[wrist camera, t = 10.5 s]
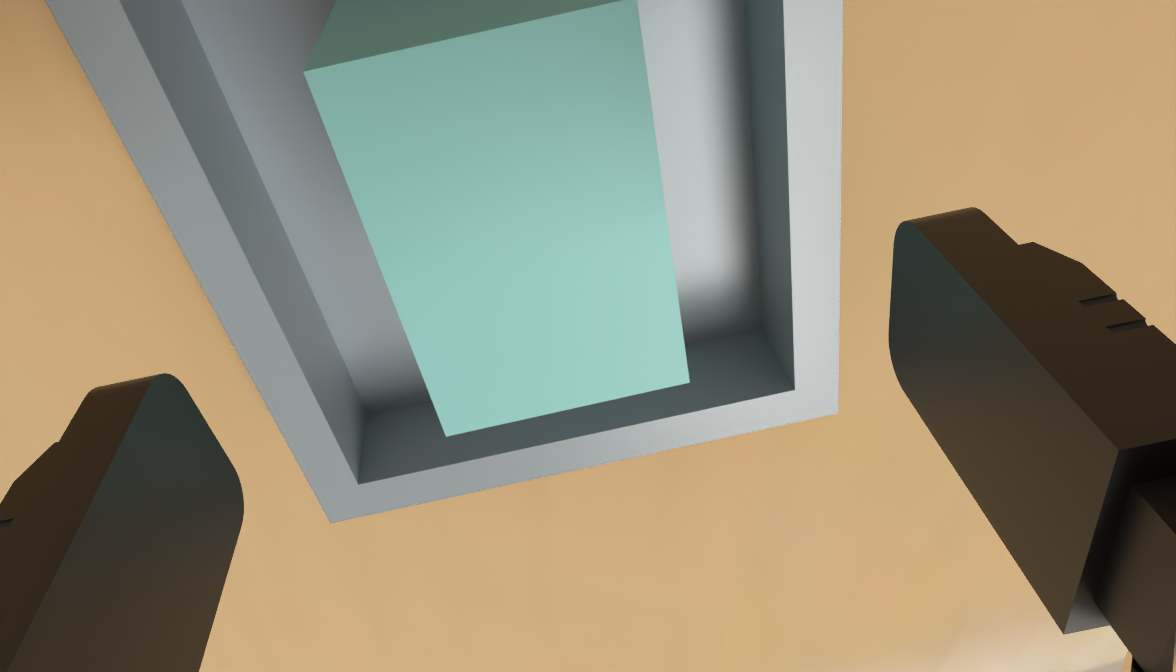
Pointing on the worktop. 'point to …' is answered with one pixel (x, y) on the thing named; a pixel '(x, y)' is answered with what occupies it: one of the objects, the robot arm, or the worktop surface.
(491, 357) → the block
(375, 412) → the tray
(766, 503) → the worktop surface
